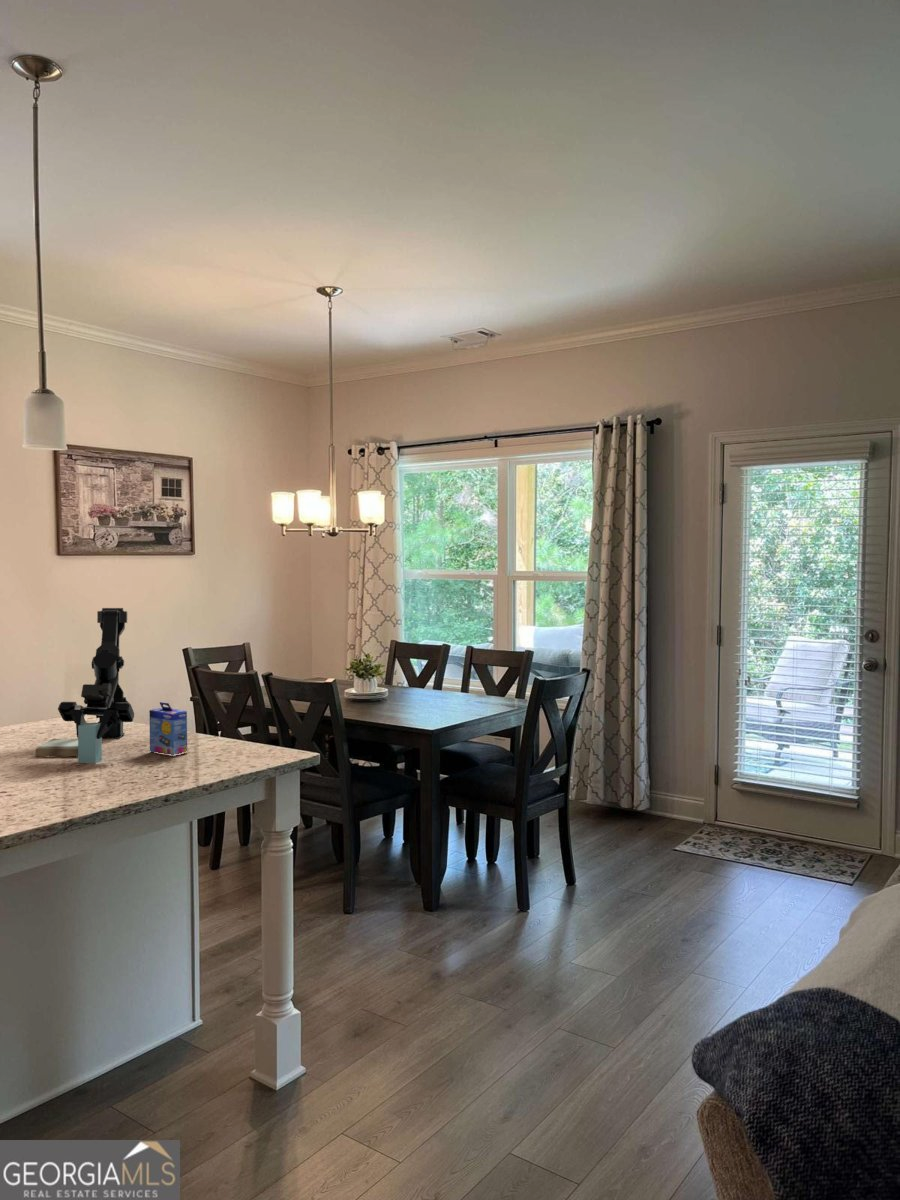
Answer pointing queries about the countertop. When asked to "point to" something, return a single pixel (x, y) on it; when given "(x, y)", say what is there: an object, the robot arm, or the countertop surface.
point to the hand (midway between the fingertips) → (88, 737)
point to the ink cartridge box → (168, 730)
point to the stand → (58, 748)
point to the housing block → (89, 743)
